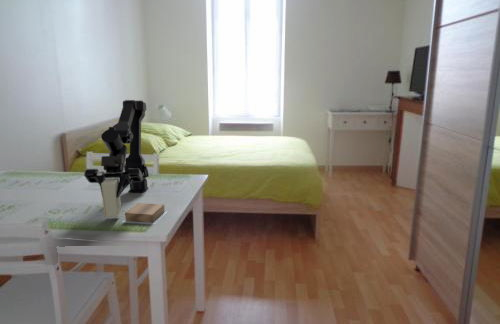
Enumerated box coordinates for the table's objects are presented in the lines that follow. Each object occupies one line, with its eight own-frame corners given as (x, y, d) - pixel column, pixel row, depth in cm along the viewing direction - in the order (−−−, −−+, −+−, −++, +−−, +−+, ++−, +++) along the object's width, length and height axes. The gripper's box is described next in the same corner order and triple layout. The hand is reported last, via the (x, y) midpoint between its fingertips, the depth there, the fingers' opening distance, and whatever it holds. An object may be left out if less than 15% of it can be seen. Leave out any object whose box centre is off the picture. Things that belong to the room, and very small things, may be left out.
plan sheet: (121, 222, 126) (121, 222, 126) (137, 210, 137) (137, 209, 137) (154, 225, 124) (154, 224, 124) (168, 212, 135) (168, 211, 135)
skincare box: (109, 210, 131) (105, 178, 128) (122, 210, 131) (119, 177, 128) (104, 217, 125) (100, 183, 122) (117, 217, 125) (114, 183, 122)
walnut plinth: (125, 221, 127) (124, 212, 126) (138, 210, 136) (138, 203, 135) (153, 222, 125) (152, 214, 124) (164, 212, 134) (164, 204, 134)
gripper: (82, 146, 126) (73, 187, 118) (137, 145, 127) (132, 185, 119) (93, 162, 135) (85, 201, 127) (145, 162, 136) (140, 200, 128)
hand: (110, 197), depth 125 cm, fingers closed on skincare box, 4 cm apart
